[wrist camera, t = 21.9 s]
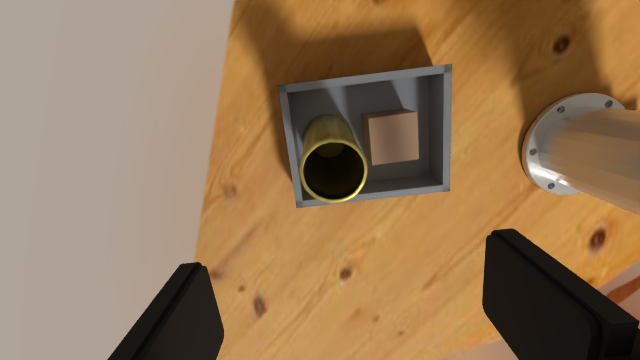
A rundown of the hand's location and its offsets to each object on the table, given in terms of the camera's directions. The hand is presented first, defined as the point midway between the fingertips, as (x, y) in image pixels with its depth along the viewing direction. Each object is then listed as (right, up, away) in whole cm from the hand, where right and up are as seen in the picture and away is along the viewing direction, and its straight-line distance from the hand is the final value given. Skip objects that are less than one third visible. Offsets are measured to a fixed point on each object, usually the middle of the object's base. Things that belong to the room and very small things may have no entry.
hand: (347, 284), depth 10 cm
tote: (+4, +9, +27) cm, 29 cm away
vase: (0, +8, +26) cm, 28 cm away
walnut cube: (+7, +9, +26) cm, 28 cm away
